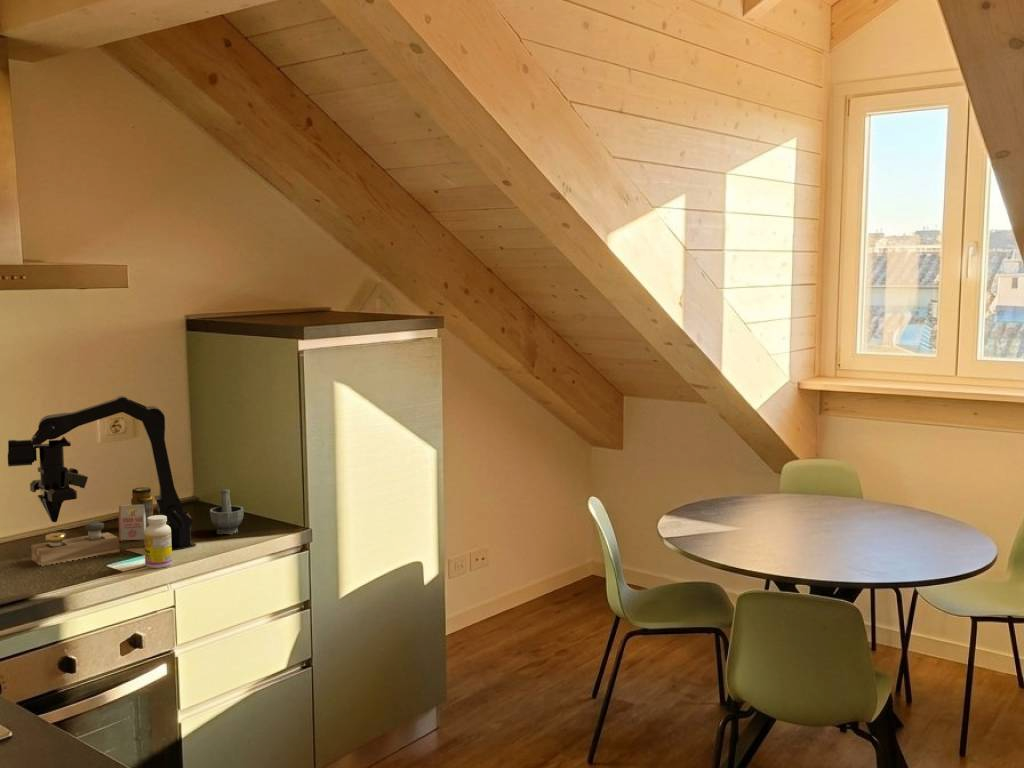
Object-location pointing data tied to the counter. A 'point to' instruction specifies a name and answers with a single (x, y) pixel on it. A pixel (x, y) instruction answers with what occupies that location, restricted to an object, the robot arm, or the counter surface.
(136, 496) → the condiment
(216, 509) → the mortar and pestle
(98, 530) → the grey domed piece
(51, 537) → the brass plug
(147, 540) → the supplement bottle
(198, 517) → the counter surface
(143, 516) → the white printed box
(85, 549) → the oak block
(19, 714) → the counter surface
